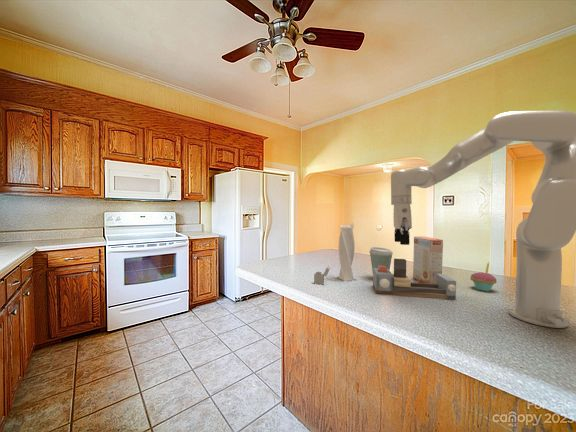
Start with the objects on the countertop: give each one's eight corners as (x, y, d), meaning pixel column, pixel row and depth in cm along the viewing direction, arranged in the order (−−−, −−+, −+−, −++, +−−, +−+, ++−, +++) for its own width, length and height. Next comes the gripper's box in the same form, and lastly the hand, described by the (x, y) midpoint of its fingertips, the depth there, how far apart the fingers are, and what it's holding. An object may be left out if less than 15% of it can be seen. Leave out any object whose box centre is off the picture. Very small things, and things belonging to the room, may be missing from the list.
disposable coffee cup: (393, 278, 117) (394, 247, 117) (390, 283, 108) (391, 250, 107) (371, 275, 122) (371, 246, 122) (366, 280, 113) (367, 248, 113)
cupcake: (486, 286, 104) (487, 259, 104) (502, 293, 96) (502, 263, 96) (465, 286, 105) (466, 259, 105) (479, 292, 97) (479, 263, 96)
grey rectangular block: (456, 300, 88) (456, 281, 88) (447, 299, 89) (447, 281, 88) (444, 291, 98) (444, 274, 98) (436, 290, 99) (436, 273, 99)
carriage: (410, 287, 93) (410, 261, 92) (394, 286, 94) (394, 261, 94) (405, 281, 101) (405, 257, 100) (389, 280, 102) (390, 257, 102)
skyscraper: (359, 281, 112) (359, 222, 111) (344, 283, 109) (345, 222, 108) (348, 276, 120) (349, 221, 119) (334, 278, 117) (335, 221, 116)
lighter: (313, 283, 108) (314, 265, 107) (315, 282, 109) (315, 265, 109) (329, 285, 105) (329, 267, 105) (330, 284, 106) (330, 266, 106)
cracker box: (442, 287, 103) (443, 239, 102) (428, 287, 103) (429, 239, 102) (424, 278, 117) (425, 236, 116) (412, 278, 117) (413, 236, 116)
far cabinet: (392, 295, 93) (393, 275, 92) (376, 294, 94) (376, 274, 94) (387, 287, 103) (387, 268, 103) (372, 286, 104) (373, 267, 104)
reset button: (386, 277, 97) (386, 267, 97) (379, 276, 98) (379, 266, 97) (385, 275, 100) (385, 265, 100) (378, 274, 100) (378, 265, 100)
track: (455, 299, 89) (455, 291, 88) (376, 293, 95) (376, 286, 94) (444, 291, 98) (444, 283, 98) (372, 286, 104) (373, 279, 104)
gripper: (418, 199, 87) (418, 246, 87) (405, 201, 104) (405, 240, 104) (396, 200, 89) (396, 245, 89) (387, 202, 106) (387, 240, 106)
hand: (401, 243), depth 97 cm, fingers open, 9 cm apart
